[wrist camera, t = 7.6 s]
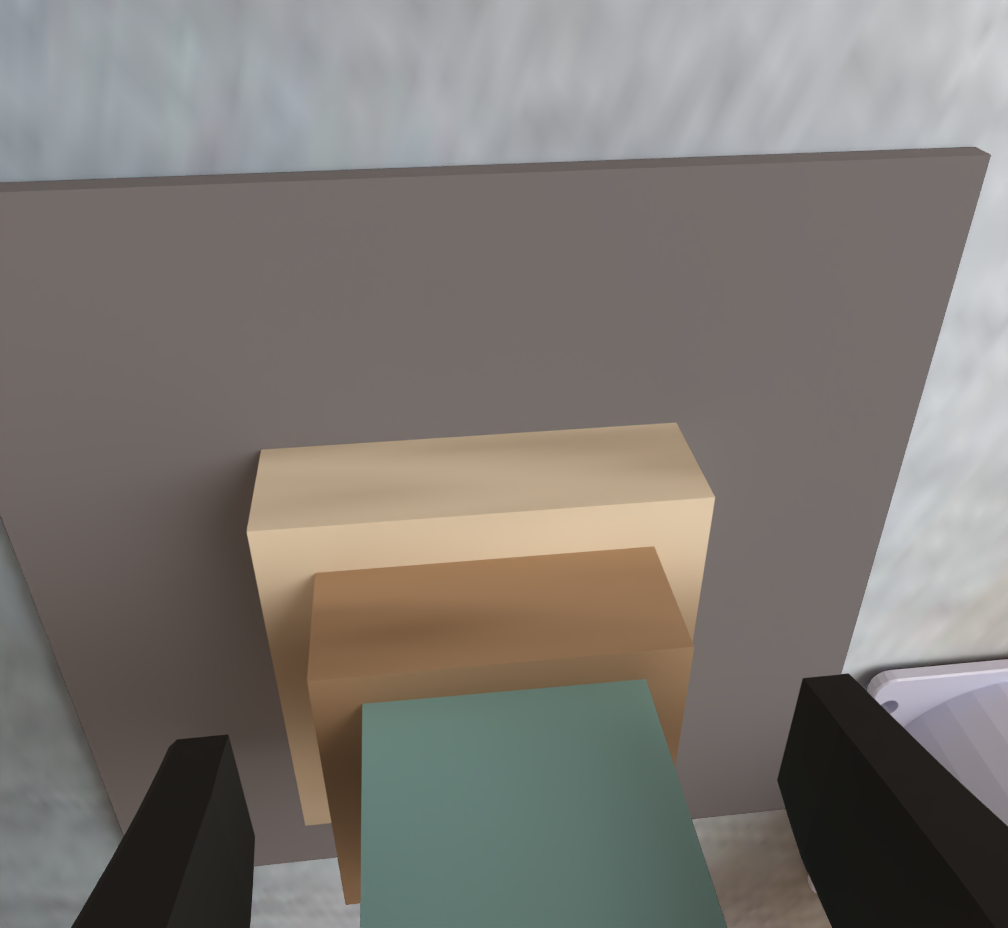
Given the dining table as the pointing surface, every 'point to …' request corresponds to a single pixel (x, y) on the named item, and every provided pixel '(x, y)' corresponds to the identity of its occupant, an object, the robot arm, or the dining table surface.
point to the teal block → (527, 814)
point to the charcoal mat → (458, 406)
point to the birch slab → (460, 526)
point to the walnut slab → (482, 648)
